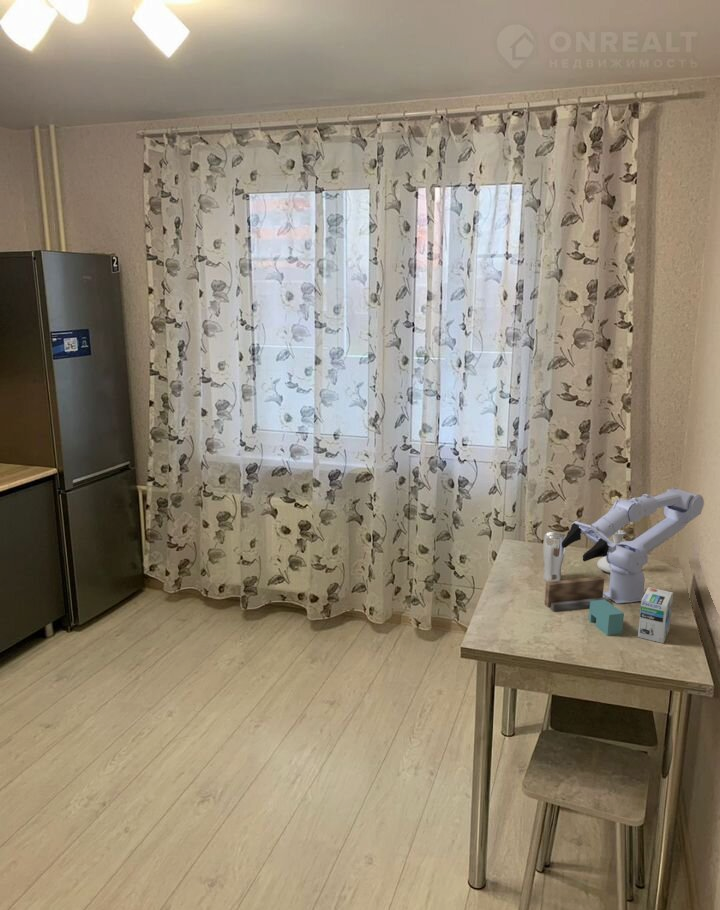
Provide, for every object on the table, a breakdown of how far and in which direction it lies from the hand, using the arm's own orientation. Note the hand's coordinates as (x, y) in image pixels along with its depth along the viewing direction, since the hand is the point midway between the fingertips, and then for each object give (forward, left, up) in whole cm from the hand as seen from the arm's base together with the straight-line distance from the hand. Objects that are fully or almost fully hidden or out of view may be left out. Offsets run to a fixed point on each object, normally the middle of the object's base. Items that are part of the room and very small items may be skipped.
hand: (573, 551), depth 194 cm
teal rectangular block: (-5, +11, -18) cm, 22 cm away
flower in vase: (-32, -25, -19) cm, 45 cm away
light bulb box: (-16, +17, -19) cm, 30 cm away
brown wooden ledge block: (-5, -4, -18) cm, 19 cm away
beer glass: (-8, -23, -19) cm, 31 cm away
